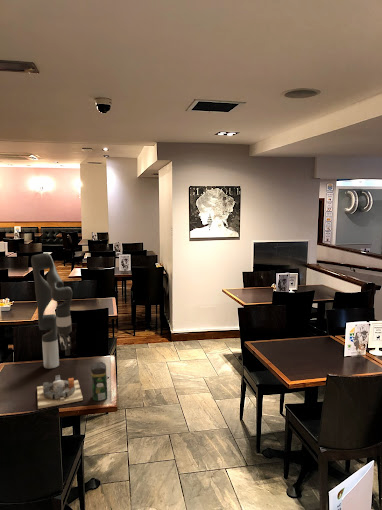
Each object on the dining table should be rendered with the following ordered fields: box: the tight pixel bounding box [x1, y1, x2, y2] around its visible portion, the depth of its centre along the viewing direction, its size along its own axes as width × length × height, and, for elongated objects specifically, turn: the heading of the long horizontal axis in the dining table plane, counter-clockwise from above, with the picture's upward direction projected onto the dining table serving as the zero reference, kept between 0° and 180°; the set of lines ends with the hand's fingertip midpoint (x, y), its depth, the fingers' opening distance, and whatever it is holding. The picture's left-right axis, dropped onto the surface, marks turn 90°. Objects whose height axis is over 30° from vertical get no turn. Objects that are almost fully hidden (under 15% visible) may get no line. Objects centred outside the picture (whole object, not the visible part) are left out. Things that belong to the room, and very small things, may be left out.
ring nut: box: [42, 374, 75, 400], centre depth 217 cm, size 16×16×6 cm
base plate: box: [36, 379, 84, 410], centre depth 218 cm, size 22×22×7 cm
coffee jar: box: [90, 361, 108, 402], centre depth 214 cm, size 10×8×19 cm
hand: (65, 352), depth 218 cm, fingers open, 8 cm apart
